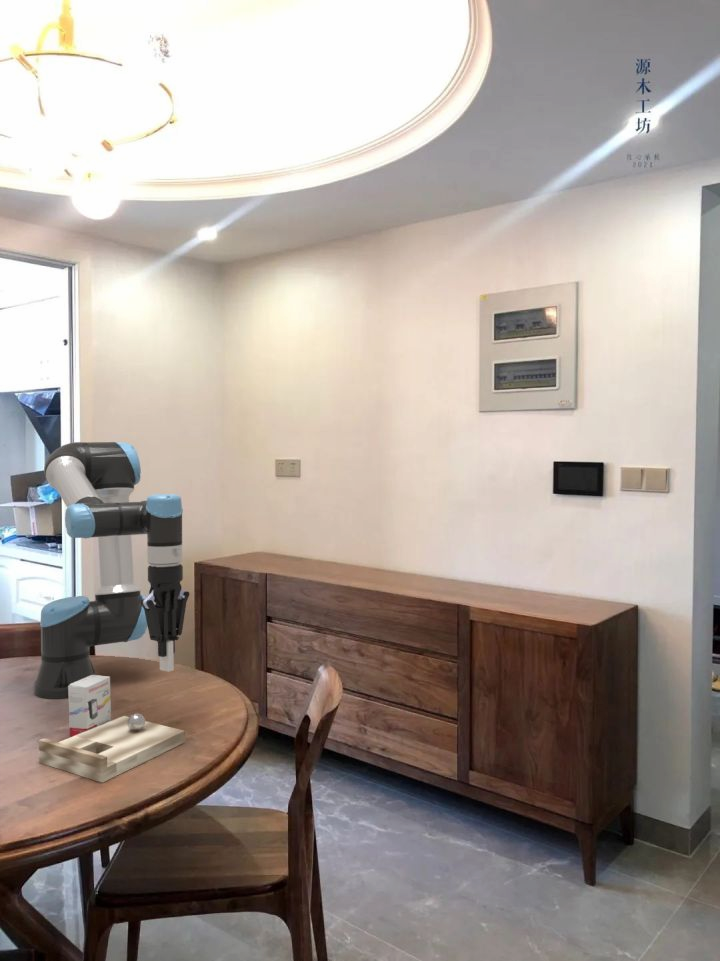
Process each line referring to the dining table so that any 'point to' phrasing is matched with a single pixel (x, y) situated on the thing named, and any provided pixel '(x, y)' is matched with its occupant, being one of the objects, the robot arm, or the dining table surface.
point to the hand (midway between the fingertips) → (166, 669)
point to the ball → (136, 722)
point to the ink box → (89, 703)
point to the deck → (109, 749)
